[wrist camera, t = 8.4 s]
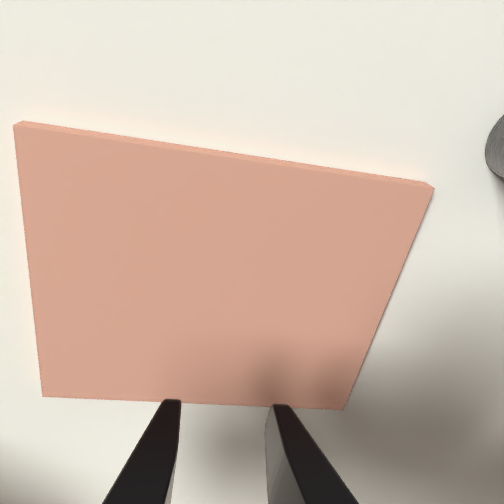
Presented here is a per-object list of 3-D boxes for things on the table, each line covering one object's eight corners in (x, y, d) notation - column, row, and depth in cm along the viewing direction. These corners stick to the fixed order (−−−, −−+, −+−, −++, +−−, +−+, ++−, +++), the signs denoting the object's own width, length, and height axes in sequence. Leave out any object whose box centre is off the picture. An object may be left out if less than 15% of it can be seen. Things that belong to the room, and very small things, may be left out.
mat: (425, 182, 12) (434, 188, 12) (338, 398, 17) (342, 409, 17) (22, 120, 10) (12, 125, 10) (48, 384, 15) (42, 396, 15)
